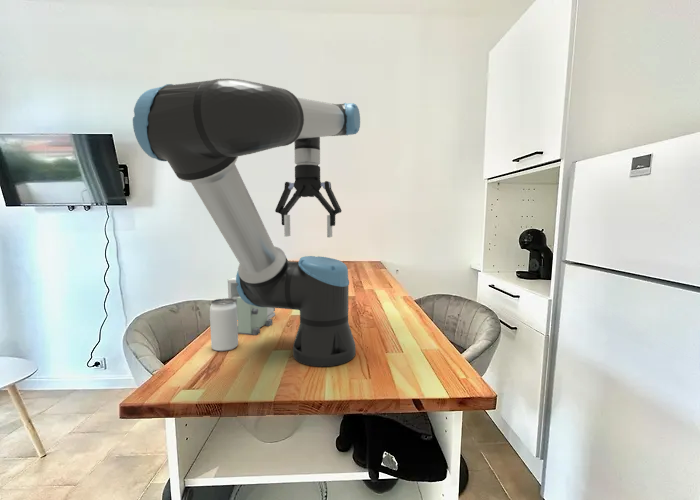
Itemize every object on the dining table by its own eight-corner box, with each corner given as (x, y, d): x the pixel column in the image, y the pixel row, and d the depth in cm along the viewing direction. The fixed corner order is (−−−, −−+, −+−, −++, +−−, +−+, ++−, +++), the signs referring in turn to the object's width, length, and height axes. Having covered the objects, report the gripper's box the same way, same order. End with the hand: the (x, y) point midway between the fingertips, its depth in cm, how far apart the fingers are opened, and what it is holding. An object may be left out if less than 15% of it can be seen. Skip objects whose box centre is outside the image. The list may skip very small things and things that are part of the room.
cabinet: (256, 335, 98) (255, 289, 97) (208, 330, 102) (206, 286, 100) (284, 315, 116) (283, 277, 115) (242, 312, 120) (241, 275, 118)
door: (254, 334, 98) (253, 299, 97) (238, 332, 100) (236, 297, 98) (271, 322, 108) (270, 291, 107) (255, 321, 109) (254, 290, 108)
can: (229, 352, 86) (228, 305, 85) (206, 350, 87) (203, 303, 86) (242, 343, 92) (241, 298, 91) (220, 341, 94) (218, 297, 92)
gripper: (351, 165, 105) (351, 236, 108) (274, 167, 111) (275, 234, 113) (345, 162, 98) (345, 238, 100) (263, 164, 104) (264, 236, 106)
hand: (308, 236), depth 107 cm, fingers open, 13 cm apart
